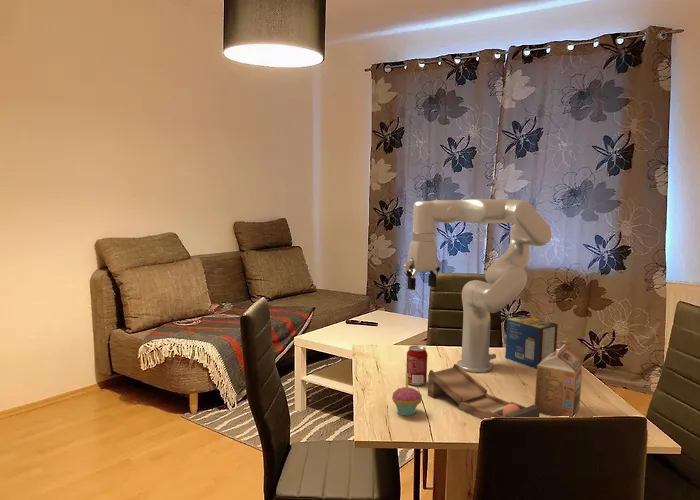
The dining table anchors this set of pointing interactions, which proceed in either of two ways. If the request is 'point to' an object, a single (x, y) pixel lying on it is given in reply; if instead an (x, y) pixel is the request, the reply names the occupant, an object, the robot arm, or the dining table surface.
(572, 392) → the milk carton
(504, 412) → the ball
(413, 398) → the cupcake
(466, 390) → the lane
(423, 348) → the soda can
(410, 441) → the dining table surface
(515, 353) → the protein box
